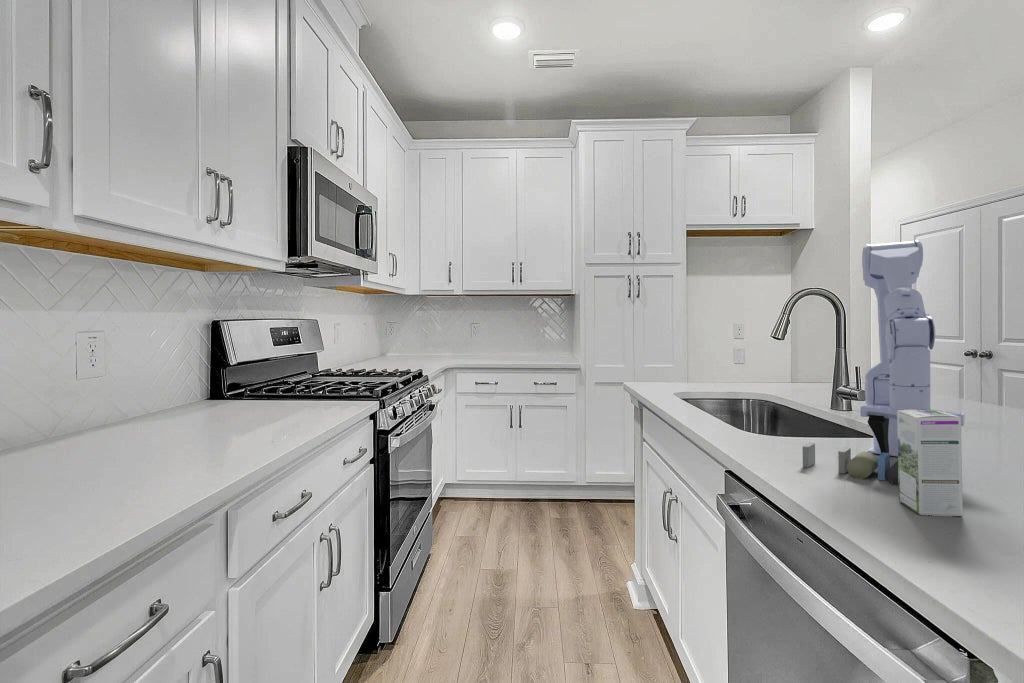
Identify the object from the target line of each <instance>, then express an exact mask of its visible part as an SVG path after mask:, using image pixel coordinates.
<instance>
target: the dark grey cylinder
mask: <svg viewBox="0 0 1024 683" xmlns="http://www.w3.org/2000/svg"><path fill="white" fill-rule="evenodd" d="M887 480H888V481H889V482H890V484H892V485H894V486H898V459H897V460H896V461H895V462H894V463H893V464H892V465H890V468H889V469H888V471H887Z"/></svg>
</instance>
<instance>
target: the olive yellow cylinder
mask: <svg viewBox="0 0 1024 683" xmlns="http://www.w3.org/2000/svg"><path fill="white" fill-rule="evenodd" d="M847 469H848V472H847V473H849V474H850V475H851V476H852V477H854V478H856V477H857V478H856V479H858V478H859V479H862V478H863V479H867V478H868V477H869V476H871V475H872V473H873V472H875V471H876V470H878V456H876V455H875V453H870V452H868V451H862V452H860V453H858V454H857V455H855V456H854V457H853V458H851V460H850V461H849V462H848V464H847Z"/></svg>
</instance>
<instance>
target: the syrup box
mask: <svg viewBox="0 0 1024 683" xmlns="http://www.w3.org/2000/svg"><path fill="white" fill-rule="evenodd" d="M941 411H942V410H940V411H938V409H932V410H929V409H910V410H897V434H898V457H897V460H898V485H899V486H898V485H897V486H898V502H899V503H900V504H903V505H904V506H905V507H907V508H909V509H910V510H911V511H913V512H915V513H917V514H918V515H921V516H928V515H930V516H931V515H932V516H931V517H952V516H962V517H963V515H964V514H963V513H964V512H963V510H964V508H963V505H964V503H963V500H964V499H963V497H964V496H963V462H962V461H963V454H962V453H963V452H962V450H963V449H962V446H963V445H962V426H961V417H959V416H956V415H952V414H949V413H945V412H941Z"/></svg>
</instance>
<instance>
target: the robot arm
mask: <svg viewBox="0 0 1024 683" xmlns="http://www.w3.org/2000/svg"><path fill="white" fill-rule="evenodd" d="M861 255H862V256H861V258H862V259H861V265H862V266H861V267H862V279H863V280H862V281H863V282H864V285H865V286H866V287H868V288H870V289H871V288H872V289H873V290H874V295H875V296H876V297H875V298H876V300H877V301H876V302H877V319H878V338H879V339H878V341H879V342H878V343H879V360H880V361H879V363H877V364H876V365H874V366H872V367H870V368H869V369H868V370H867V371H866V373H865V378H864V379H865V382H864V398H865V401H864V402H865V404H862V405H861V406H860V409H859V410H860V417H863V418H868V420H867V424H868V427H870V429H871V431H872V434H873V446H871V447H869V449H867V452H870V453H872V454H874V455H875V454H877V455H881V454H882V453H883V452H884V453H890V456H893V457H897V458H898V434H897V410H910V409H929V410H933V409H932V408H931V351H933V349H934V347H935V341H936V327H935V323H934V318H933V317H932V316H931V315H930V313H926V308H925V306H924V301H923V296H922V294H921V292H920V291H918V290H916V289H914V288H913V285H914V284H916V282H917V280H918V278H919V277H920V273H921V268H922V266H923V261H924V247H923V243H922V241H920V240H919V239H915V240H912V241H910V240H909V241H900V242H888V243H887V242H886V243H875V244H870V243H866V244H865V245H864V246H863V247H862V254H861ZM937 410H938V409H937ZM938 411H941V412H945V413H949V414H952V415H956V416H959V417H961V427H964V426H965V425H966V424H965V418H966V417H965V412H956V411H946V410H938Z"/></svg>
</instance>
